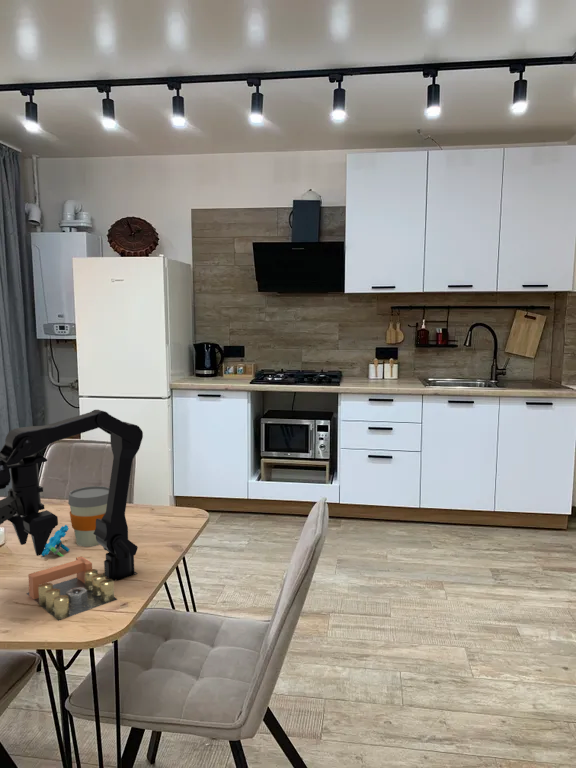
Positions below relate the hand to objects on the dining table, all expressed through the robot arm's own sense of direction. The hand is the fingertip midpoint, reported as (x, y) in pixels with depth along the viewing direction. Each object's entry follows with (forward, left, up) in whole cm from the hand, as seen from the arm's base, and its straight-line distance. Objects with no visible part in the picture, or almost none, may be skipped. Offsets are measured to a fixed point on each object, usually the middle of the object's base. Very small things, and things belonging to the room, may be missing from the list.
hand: (31, 549), depth 135 cm
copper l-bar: (-7, -1, -12) cm, 14 cm away
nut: (-7, +8, -12) cm, 16 cm away
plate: (-7, +5, -13) cm, 15 cm away
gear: (-16, -25, -13) cm, 32 cm away
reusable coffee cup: (-28, -27, -13) cm, 41 cm away
